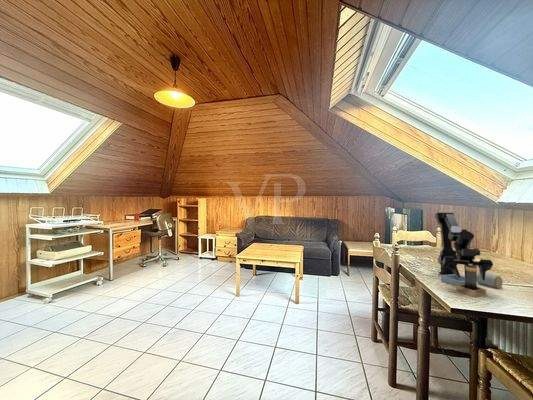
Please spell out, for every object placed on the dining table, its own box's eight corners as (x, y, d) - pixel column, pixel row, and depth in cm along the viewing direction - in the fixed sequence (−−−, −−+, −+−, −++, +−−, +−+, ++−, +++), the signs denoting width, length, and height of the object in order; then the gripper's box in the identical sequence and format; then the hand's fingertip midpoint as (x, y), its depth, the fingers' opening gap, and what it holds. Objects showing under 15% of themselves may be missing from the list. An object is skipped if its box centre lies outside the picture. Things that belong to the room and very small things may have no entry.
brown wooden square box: (454, 292, 114) (453, 285, 114) (467, 290, 116) (467, 283, 116) (474, 299, 105) (474, 291, 105) (488, 297, 107) (488, 289, 107)
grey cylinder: (496, 290, 115) (496, 275, 115) (476, 285, 123) (476, 271, 123) (506, 288, 119) (506, 273, 119) (486, 283, 127) (486, 269, 127)
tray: (441, 282, 127) (440, 275, 127) (455, 281, 129) (455, 273, 130) (461, 289, 117) (461, 281, 117) (476, 287, 119) (476, 280, 119)
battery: (462, 291, 112) (461, 263, 112) (469, 290, 113) (468, 262, 113) (472, 294, 108) (472, 265, 108) (479, 293, 109) (479, 264, 109)
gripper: (443, 240, 119) (450, 267, 108) (491, 243, 111) (503, 272, 101) (439, 252, 126) (446, 279, 116) (484, 256, 118) (495, 284, 108)
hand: (471, 278), depth 110 cm, fingers open, 9 cm apart
